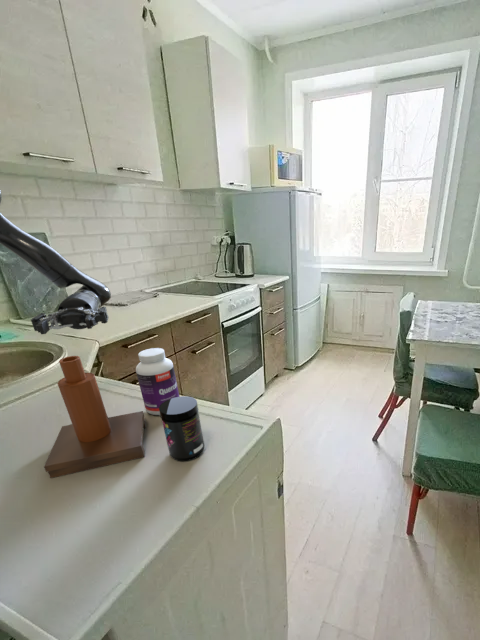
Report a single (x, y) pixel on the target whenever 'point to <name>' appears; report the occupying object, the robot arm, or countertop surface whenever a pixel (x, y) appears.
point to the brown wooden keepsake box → (97, 446)
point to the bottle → (83, 401)
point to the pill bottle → (156, 379)
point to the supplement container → (182, 427)
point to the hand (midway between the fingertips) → (65, 326)
